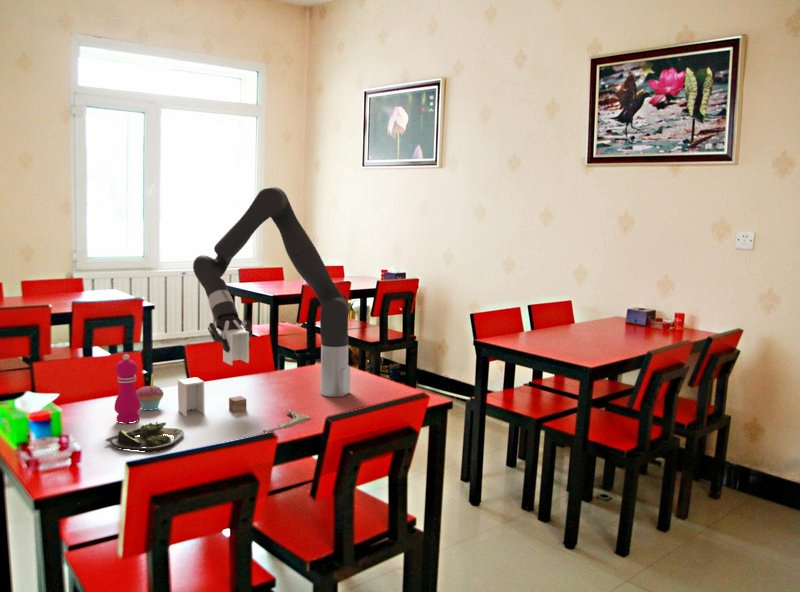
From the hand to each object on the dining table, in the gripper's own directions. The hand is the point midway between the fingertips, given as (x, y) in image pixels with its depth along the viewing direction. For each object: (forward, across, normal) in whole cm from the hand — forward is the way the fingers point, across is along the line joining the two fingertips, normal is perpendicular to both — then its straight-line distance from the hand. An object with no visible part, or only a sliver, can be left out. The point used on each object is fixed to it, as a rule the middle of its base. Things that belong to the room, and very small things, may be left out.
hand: (238, 349), depth 218 cm
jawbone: (+28, +3, -2) cm, 29 cm away
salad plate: (+25, -34, +2) cm, 42 cm away
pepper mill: (+10, -33, +16) cm, 38 cm away
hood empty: (+12, -14, +14) cm, 24 cm away
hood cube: (+2, 0, +4) cm, 5 cm away
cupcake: (+4, -24, +22) cm, 33 cm away
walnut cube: (+16, -2, +10) cm, 19 cm away
